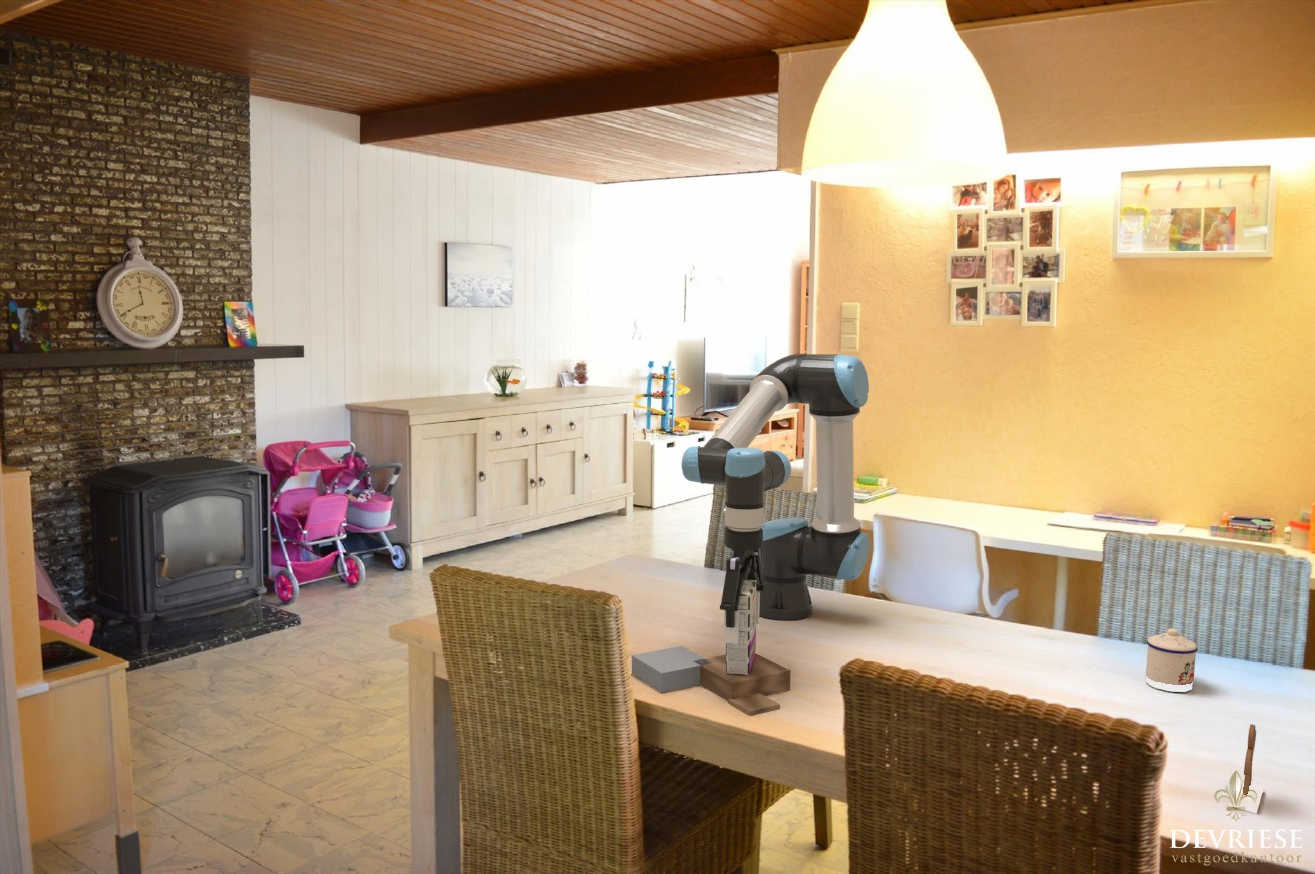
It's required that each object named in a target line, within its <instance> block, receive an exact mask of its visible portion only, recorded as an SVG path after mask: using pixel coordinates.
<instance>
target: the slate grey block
mask: <svg viewBox="0 0 1315 874" xmlns="http://www.w3.org/2000/svg"><path fill="white" fill-rule="evenodd" d="M700 659H702V661H703V659H705V657H703V656H701V655H700V654H697V653H695V652H694V651H692V650H691V649H688V648H686V647H684V646H682V645H678V646H673V647H668V648H663V649H657V650H652V651H647V652H642V653H637V654H631V675H633V676H634V677H635V678H637V679H639V680H640V681H642V682H643V683H645V684H647V685H648V686H650V687H651V688H653V689H654V690H656V691H657V692H660V693H661V694H664V693H668V692H672V691H677V690H683V689H689V688H692V687H697V686H701V685H700V671H701V665H703V664H704V662H701V663H703V664H701V663H700V664H701V665H700V664H697V663H695V662H693V661H696V660H698V661H701V660H700ZM706 661H707V660H706ZM708 662H709V661H708ZM705 663H706V662H705ZM709 663H712V662H709ZM709 663H708V664H709ZM705 665H706V664H705Z"/></svg>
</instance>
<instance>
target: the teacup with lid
mask: <svg viewBox="0 0 1315 874" xmlns="http://www.w3.org/2000/svg"><path fill="white" fill-rule="evenodd" d="M1146 644H1147V654H1146V665H1145V666H1146V667H1145V677H1146V676H1147V677H1148V678H1149V679H1151V680H1153V681H1155V682H1161V683H1165V684H1172V685H1186V684H1191V683H1192V682H1193V681H1194V680H1195V667H1196V654H1197V652H1198V646H1197V644H1196V643H1195V642H1194V641H1192V640H1191V639H1189V638H1186V637H1184V635H1181V634H1179V630H1178V629H1175V628H1168V629H1167V632H1163V633H1161V634H1155V635H1151V636H1149V637H1148V638H1147V641H1146ZM1193 683H1194V682H1193Z"/></svg>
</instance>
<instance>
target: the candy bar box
mask: <svg viewBox="0 0 1315 874" xmlns="http://www.w3.org/2000/svg"><path fill="white" fill-rule="evenodd" d="M729 604H731V603H729ZM737 610H739V643H738V644H735V643H727V642H725V654H726V674H730V675H745V676H749V675H750V672H751V669H752V666H753V663H754V660H755V657H756V654H757V653H756V652H757V650H756V648H757V647H756V644H757V638H756V637H757V631H756V630H757V623H756V580H748V579H746V580H744V582H743V587H742V591H741V594H740V600H739V604H738V609H737Z"/></svg>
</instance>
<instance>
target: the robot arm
mask: <svg viewBox="0 0 1315 874" xmlns="http://www.w3.org/2000/svg"><path fill="white" fill-rule="evenodd" d="M867 372H868V371H867V369H866V366H865V365H864V363H863V361H862V359H860V358H858V357H857V356H853V355H844V354H842V353H840V354H834V353H833V354H830V353H828V354H821V353H820V354H819V353H817V354H816V353H813V354H812V353H808V354H807V353H795V354H789V355H786V356H784V357H781V358H779V359H777V360H776V361H774V362H772V363H770V364H769V365H768V366H766V367H765V368H763V369H762V370H761V371H760V372H759V373H758V374H757V375H755V377H754V378H753V380H751V383H750V385H749V391H748V392H747V394H746V395H745V396H744V397H743V398H742V400H741V401H740V402H739V403H738V405H737V406H736V407H735V408H734V409H733V410H732V412H731V413H730V414H729V416H727V418H726V419H725V420H724V421H723V423H722V424H721V425H720V426H719V428H718V429H717V430H716V431H715V432H714V434H713V435H711V438H710V439H708V441H707V442H706V444H704V445H703V446H699V445H697V446H691V447H690V446H689V447H688V448H687V449H686V450H685V451H684V453H683V455H682V458H681V471H682V475H683V477H684V479H686V480H687V481H689V482H694V483H700V484H702V485H704V484H705V485H715V486H716V485H718V486H725V502H724V504H725V505H724V506H725V507H724V508H723V509H722V514H724V516H725V517H724V525H725V526H726V527H725V528H724V546H725V547H726V548H727V549H730V550H732V552H733V553H732V556H731V557H727V559H726V570H725V576H724V581H723V589H722V595H721V602H720V604H719V609H720V610H721V611H724V626H723V627H724V628H723V629H724V630H723V632H724V634H723V637H724V638H723V641H724V643H726V642H727V643H735V644H738V643H739V610H737V609H738V604H739V600H740V594H741V591H742V587H743V582H744V580H746V579H748V580H756V624H759V623H760V617H761V618H766V619H772V620H780V621H781V620H784V621H791V620H792V621H793V620H801V619H804V618H808V617H809V616H811V615H812V614H813V601H812V598H811V595H810V591H809V587H808V584H807V576H808V575H810V576H813V577H814V576H816V577H822V578H827V579H828V578H829V579H833V580H837V581H842V580H843V581H854V580H857V579H858V578H859V577H860V576H861V575H862V573H863V571H864V570H865V567H866V563H867V561H868V557H869V553H870V538H869V537H870V536H869V535H868V534H867V533H865V532H862V531H861V527H862V526H861V522H860V521H859V520H858V519H857V518H855V495H854V494H855V487H854V486H855V482H854V476H855V475H854V474H855V473H854V419H855V418H856V417H857V416H858V415H859V414H860V411H861V410H860V409H861V408H862V407H864V406H865V405H866V403H867V402H868V398H869V392H870V390H869V389H870V387H869V386H870V384H869V377H868V373H867ZM788 404H789V405H790V404H806V405H807V404H808V413H809V415H810V416H812V418H814V420H815V438H816V439H815V444H816V445H815V447H816V448H815V450H816V453H815V455H816V499H817V500H816V502H817V503H816V504H817V505H816V507H817V512H816V513H817V516H816V518H815V519H814V520H812V521H811V524H810V525H811V526H809V522H808V520H807V519H806V518H802V517H787V518H777V519H773V520H769V521H766V522H764V514H765V513H764V511H765V509H764V507H765V506H764V505H765V504H764V502H765V501H764V498H765V497H764V496H765V495H764V494H765V492H767V491H771V490H775V489H778V488H779V487H781V486H782V485H784V484H785V483H787V481H788V480H789V478H790V476H791V474H792V473H791V472H792V465H791V462H790V459H789V458H788V457H787V455H786V454H784V453H783V452H781V451H778V450H766V451H763V450H762V449H759V448H756V447H749V446H750V445H751V443H753V441H754V440H755V439H756V437H757V436H758V435H759V434H760V432H761V430H763V428H764V427H765V426H766V424H767V423H768V422H769V421H770V420H771V417H773V416H774V414H775V413H776V412H778V411H781V410H783V409H784V408H785V407H786V405H788ZM729 603H731V604H729Z"/></svg>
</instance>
